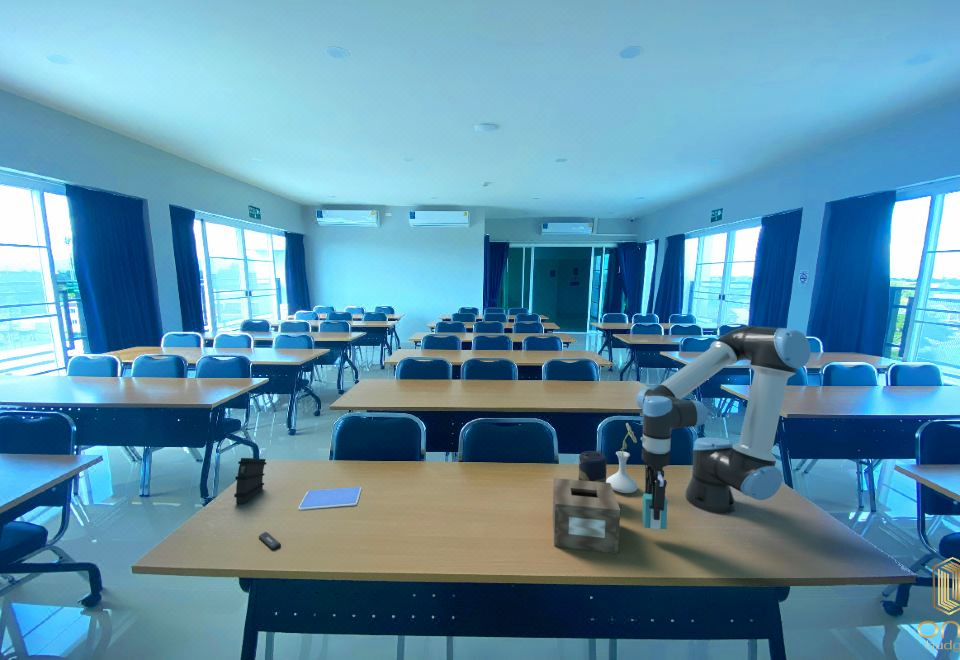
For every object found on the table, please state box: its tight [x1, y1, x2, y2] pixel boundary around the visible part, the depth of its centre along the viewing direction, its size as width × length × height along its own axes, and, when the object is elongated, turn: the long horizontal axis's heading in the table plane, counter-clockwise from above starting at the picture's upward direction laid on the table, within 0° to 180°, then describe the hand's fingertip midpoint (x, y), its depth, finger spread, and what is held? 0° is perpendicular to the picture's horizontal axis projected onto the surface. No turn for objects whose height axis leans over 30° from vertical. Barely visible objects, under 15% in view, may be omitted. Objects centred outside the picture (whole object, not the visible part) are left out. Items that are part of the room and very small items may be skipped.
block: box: [641, 493, 668, 530], centre depth 113 cm, size 6×3×9 cm, turn 81°
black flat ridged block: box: [233, 457, 267, 505], centre depth 136 cm, size 4×13×15 cm, turn 179°
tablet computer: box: [297, 486, 362, 511], centre depth 135 cm, size 19×13×1 cm, turn 100°
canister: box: [578, 450, 607, 483], centre depth 135 cm, size 10×10×18 cm
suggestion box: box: [552, 477, 621, 555], centre depth 116 cm, size 18×16×13 cm
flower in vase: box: [606, 422, 638, 494], centre depth 144 cm, size 13×11×25 cm
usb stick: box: [258, 531, 282, 551], centre depth 110 cm, size 10×3×2 cm, turn 52°
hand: (653, 524), depth 113 cm, fingers closed on block, 3 cm apart
